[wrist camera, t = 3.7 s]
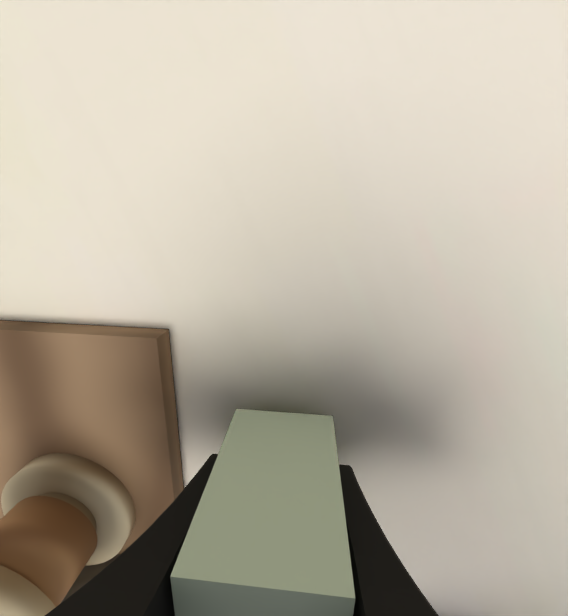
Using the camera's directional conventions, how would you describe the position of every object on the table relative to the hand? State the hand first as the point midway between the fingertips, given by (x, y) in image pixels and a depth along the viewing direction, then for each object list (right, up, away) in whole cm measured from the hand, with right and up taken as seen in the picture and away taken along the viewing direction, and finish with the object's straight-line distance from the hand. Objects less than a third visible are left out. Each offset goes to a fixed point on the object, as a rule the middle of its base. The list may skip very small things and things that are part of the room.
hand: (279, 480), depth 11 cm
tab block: (0, 0, +1) cm, 1 cm away
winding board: (-12, -6, +5) cm, 15 cm away
